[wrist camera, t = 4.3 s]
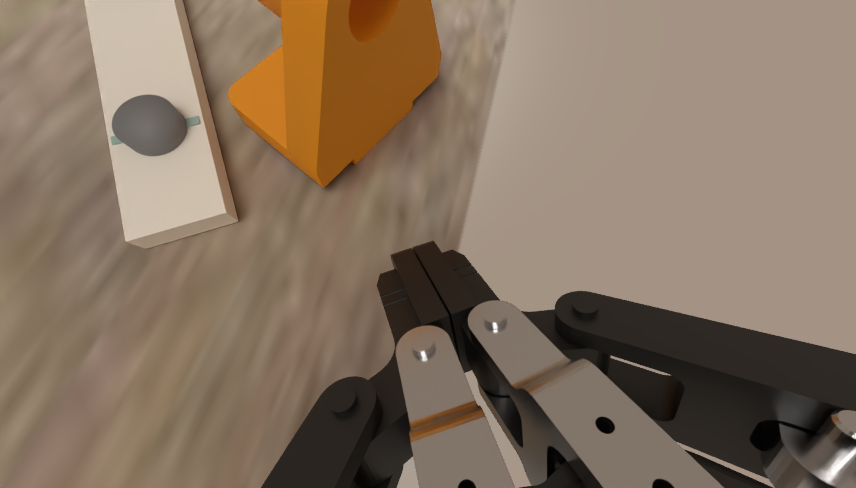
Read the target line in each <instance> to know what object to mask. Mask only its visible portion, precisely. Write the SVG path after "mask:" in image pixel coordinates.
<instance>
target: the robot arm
mask: <svg viewBox="0 0 856 488" xmlns="http://www.w3.org/2000/svg"><path fill="white" fill-rule="evenodd" d="M391 260H392V263H393V266H394V270H391V271H388V272H385V273H382V274H380V276H379V280H378V283H377V287H378V290H379V294H380V297H381V300H382V303H383V306H384V309H385V312H386V315H387V319H388V322H389V325H390V328H391V331H392V334H393V337H394V341H395V350H394V354H393V356H392V358H391V360H390V361H389V363H388V364H387V365H386V366H385V367H384V368H383V369H382V370H381V371H380V372H379V373H377V374H376V375H374V376H373V377H372V378H370V379H369V380H367V379H365V378H362V377H356V376H354V377H346V378H343V379H340V380H338V381H336V382H335V383H333V384H332V385H330V386H329V387H328V388H327V389H326V390H325V391H324V392H323V393H322V394H321V396H320V397H319V399H318V400H317V402H316V403H315V405H314V406H313V408H312V409H311V411H310V412H309V414H308V416H307V417H306V419H305V420H304V422H303V423H302V425H301V426H300V428H299V430H298V431H297V433H296V434H295V436H294V437H293V439H292V440H291V442H290V443H289V445H288V447H287V448H286V450H285V451H284V453H283V454H282V456H281V457H280V459H279V461H278V462H277V464H276V465H275V467H274V468H273V470H272V471H271V473H270V474H269V476H268V478H267V479H266V481H265V482H264V484H263V485H262V487H261V488H396V487H397V485H398V482H399V479H400V476H401V474H402V470H403V464H404V463H406V462H407V461H408V460H409V459H410V458H411V457H412V456H413V457H414V462H415V467H416V472H417V478H418V483H419V487H420V488H515V486H514V484H513V481H512V479H511V476H510V474H509V472H508V469H507V467H506V465H505V462H504V459H503V457H502V455H501V452H500V450H499V447H498V445H497V443H496V440H495V438H494V435H493V433H492V430H491V428H490V426H489V423H488V421H487V418H486V416H485V414H484V412H483V410H482V408H481V407H480V406H478V405H477V403H476V401H475V399H474V396H473V394H472V392H471V389H470V386H469V384H468V381H467V379H466V376H465V374H464V373H465V372H468V371H470V370H472V371H473V373H474V374H475V376H476V378H477V381H478V387H479V391H480V394H481V396H482V398H483V399H484V401H485V402H486V404H487V406H488V407H489V409H490V410H491V412H492V414H493V415H494V417H495V418H496V419H497V422H498V423H499V425H500V426H501V428H502V430H503V431H504V433H505V434H506V436H507V438H508V439H509V441H510V442H511V444H512V445H513V447H514V449H515V450H516V452H517V454H518V455H519V457H520V460H521V462H522V464H523V466H524V469H525V472H526V475H527V477H528V479H529V481H530V483H531V485H532V486H528V487H521V488H773V487H770V486H768V485H766V484H764V483H761V482H759V481H757V480H754V479H752V478H750V477H748V476H745V475H743V474H741V473H739V472H736V471H734V470H732V469H730V468H727V467H725V466H723V465H720V464H718V463H716V462H714V461H711V460H709V459H707V458H705V457H702V456H700V455H698V454H695V453H692V452H690V451H687V450H684V449H683V448H682V447H680V445H678V444H677V443H676V442H679V443H681V444H684V445H686V446H689V447H691V448H694V449H696V450H699V451H701V452H703V453H706V454H708V455H711V456H713V457H716V458H718V459H721V460H723V461H726V462H728V463H731V464H733V465H735V466H738V467H740V468H743V469H745V470H748V471H750V472H753V473H755V474H758V475H760V476H763V477H765V478H768V479H769V480H770V482H771V483H772V484H773V486H774V487H775V488H856V354H852V353H848V352H844V351H839V350H834V349H830V348H827V347H822V346H818V345H814V344H810V343H805V342H801V341H797V340H792V339H788V338H784V337H780V336H775V335H771V334H767V333H763V332H758V331H754V330H750V329H746V328H741V327H737V326H733V325H729V324H724V323H720V322H716V321H711V320H707V319H703V318H698V317H694V316H690V315H686V314H682V313H677V312H673V311H669V310H665V309H660V308H656V307H652V306H647V305H643V304H639V303H634V302H631V301H626V300H622V299H617V298H613V297H609V296H605V295H601V294H596V293H592V292H586V291H576V292H571V293H567V294H565V295H563V296H561V297H560V298H559V299H558V300H557V302H556V305H555V310H546V311H537V312H523V311H520V310H519V309H518V308H517V307H516V306H514V305H512V304H510V303H508V302H505V301H500V300H499V299H498V297H497V296H496V295H495V294H494V292H493V291H492V290H491V288H489V286H488V285H487V283H486V282H485V281H484V280H483V278H482V277H481V276H480V275H479V273H477V271H476V270H475V269H474V267H473V266H472V265H471V263H470V262H469V261H468V260H467V258H466V257H465V256H464V255H462V254H460V253H458V252H456V251H454V250H450V251H447V252H444V253H442V252H441V251H440V249H439V248H438V247H437V245H436V244H435V242H434V241H431V242H428V243H425V244H421V245H418V246H415V247H413V248H410V249H407V250H404V251H401V252H397V253H394V254H391ZM611 355H612V356H615V357H618V358H621V359H624V360H627V361H630V362H633V363H637V364H640V365H643V366H646V367H649V368H652V369H655V370H658V371H662V372H665V373H668V374H670V376H668V375H661V374H658V373H655V372H652V371H649V370H646V369H643V368H640V367H636V366H633V365H630V364H627V363H624V362H621V361H618V360H615V359H612V358H610V356H611ZM675 441H676V442H675Z"/></svg>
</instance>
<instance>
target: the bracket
mask: <svg viewBox="0 0 856 488" xmlns="http://www.w3.org/2000/svg"><path fill="white" fill-rule="evenodd" d="M258 1H259V2H260V3H262V4H263V5H264V6H266V7H267V8H268V9H270V10H271V11H272V12H273V13H275V14H276V15H277V16H279V17H280V18H281V19H282V40H283V45H282V46H281V47H280V48H278V49H277V50H276V51H274V52H273V53H272V54H271V55H269V56H268V57H267V58H266V59H264V60H263V61H262V62H261V63H259V64H258V65H257V66H256V67H254V68H253V69H252V70H251V71H249V72H248V73H247V74H246V75H244V76H243V77H242V78H241V79H239V80H238V81H237V82H235V83H234V84H233V85H232V86H231V88H230V90H229V93H228V98H229V101H230V102H231V104H232V105H233V107H234V108H235V110H236V111H237V112H238V114H239V115H240V117H241V118H242V119H243V121H244V122H245V124H246V125H247V126H249V127H250V128H251V129H252V130H253V131H255V132H256V133H257V134H258V135H259V136H261V137H262V138H263V139H264V140H266V141H267V142H268V143H269V144H270V145H272V146H273V147H274V148H275V149H276V150H278V151H279V152H280V153H281V154H283V155H284V156H285V157H286V158H287V159H289V160H290V161H291V162H292V163H293V164H295V165H296V166H297V167H298V168H300V169H301V170H302V171H303V172H304V173H306V174H307V175H308V176H309V177H310V178H312V179H313V180H314V181H315V182H317V183H318V184H319V185H320V186H321V187H323V188H325V187H326V186H327V185H328V184H329V183H330V182H331V181H332V180H333V179H334V178H335V177H336V176H337V175H338V174H339V173H340V172H341V171H342V170H343V169H344V168H345V167H346V166H347V165H348V164H349V163H350V162H352V163H354V164H355V165H356V164H357V163H358V162H359V161H360V160H361V159H362V158H363V157H364V156H365V155H366V154H367V153H368V152H369V151H370V150H371V149H372V148H373V147H374V146H375V145H376V144H377V143H378V142H379V141H380V140H381V139H382V138H383V137H384V136H385V135H386V134H387V133H388V132H389V131H390V130H391V129H392V128H393V127H394V126H395V125H396V124H397V123H398V122H399V121H400V120H401V119H402V118H403V117H404V116H405V115H406V114H407V113H408V112H409V111H410V110H411V109H412V108H413V100H414V99H415V98H416V97H417V96H419V95H420V94H421V93H422V92H423V91H424V90H425V89H426V88H427V87H428V86H429V85H430V84H431V83H432V82H433V81H434V80H435V79H436V78H437V77H438V73H439V66H440V60H441V50H440V45H439V40H438V35H437V30H436V25H435V19H434V14H433V9H432V4H431V0H258Z"/></svg>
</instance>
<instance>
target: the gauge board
mask: <svg viewBox="0 0 856 488" xmlns="http://www.w3.org/2000/svg"><path fill="white" fill-rule="evenodd" d="M84 2H85V7H86V13H87V19H88V25H89V31H90V37H91V43H92V48H93V54H94V60H95V66H96V72H97V78H98V83H99V89H100V95H101V101H102V107H103V113H104V118H105V124H106V130H107V136H108V142H109V148H110V153H111V159H112V165H113V171H114V177H115V183H116V188H117V194H118V200H119V206H120V212H121V218H122V223H123V229H124V235H125V241H126V242H128V243H131V244H134V245H136V246H139V247H142V248H145V249H148V248H151V247H154V246H158V245H161V244H165V243H168V242H171V241H175V240H178V239H181V238H185V237H188V236H192V235H195V234H198V233H202V232H205V231H209V230H212V229H215V228H219V227H222V226H225V225H229V224H232V223H236V222H239V221H238V217H237V213H236V209H235V205H234V201H233V197H232V194H231V190H230V186H229V182H228V178H227V174H226V170H225V166H224V162H223V158H222V154H221V150H220V146H219V142H218V138H217V134H216V130H215V126H214V122H213V118H212V114H211V110H210V106H209V103H208V99H207V95H206V91H205V87H204V83H203V79H202V75H201V71H200V67H199V63H198V59H197V55H196V51H195V47H194V43H193V39H192V35H191V31H190V27H189V23H188V19H187V16H186V12H185V8H184V4H183V0H84Z"/></svg>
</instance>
